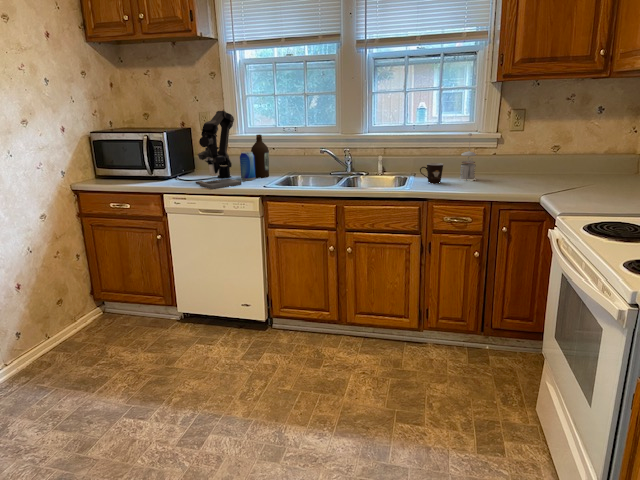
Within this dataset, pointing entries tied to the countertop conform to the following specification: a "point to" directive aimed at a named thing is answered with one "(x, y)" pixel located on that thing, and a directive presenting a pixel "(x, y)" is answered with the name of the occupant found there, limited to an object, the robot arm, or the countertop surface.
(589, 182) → the countertop surface
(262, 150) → the olive oil
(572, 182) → the countertop surface
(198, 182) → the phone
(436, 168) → the coffee mug
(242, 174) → the beer can
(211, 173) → the block
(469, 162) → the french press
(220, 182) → the outlet plate
